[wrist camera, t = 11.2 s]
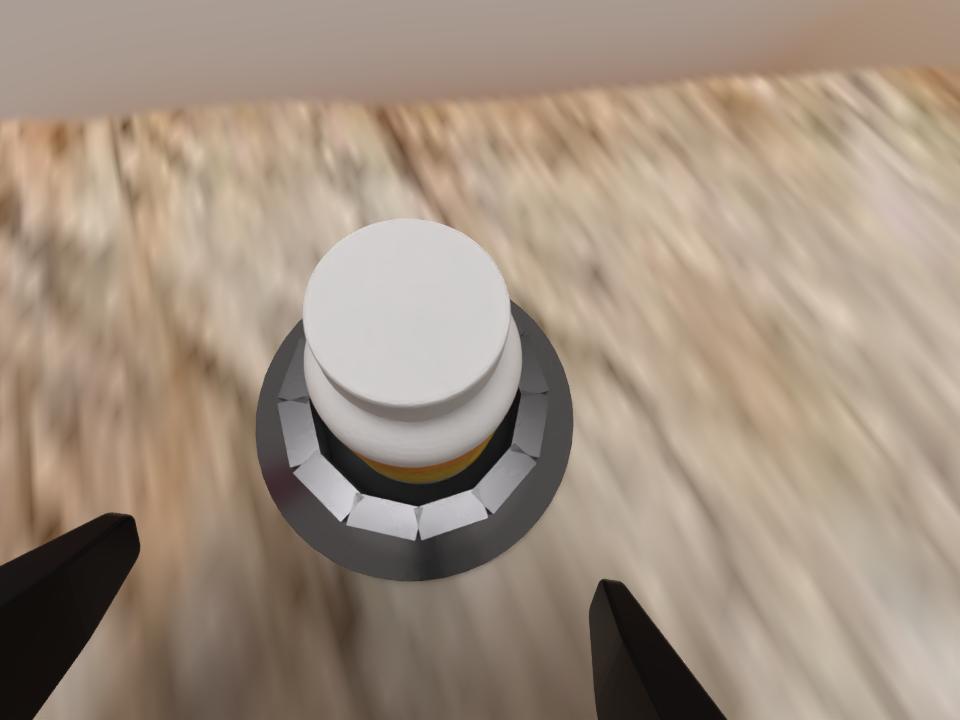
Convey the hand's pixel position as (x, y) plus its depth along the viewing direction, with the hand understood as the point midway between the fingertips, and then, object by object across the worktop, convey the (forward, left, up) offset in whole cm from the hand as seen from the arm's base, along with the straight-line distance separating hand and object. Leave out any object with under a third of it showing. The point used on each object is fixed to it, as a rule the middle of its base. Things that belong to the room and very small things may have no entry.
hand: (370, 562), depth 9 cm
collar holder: (+4, +3, -9) cm, 10 cm away
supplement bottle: (+4, +3, -8) cm, 9 cm away
